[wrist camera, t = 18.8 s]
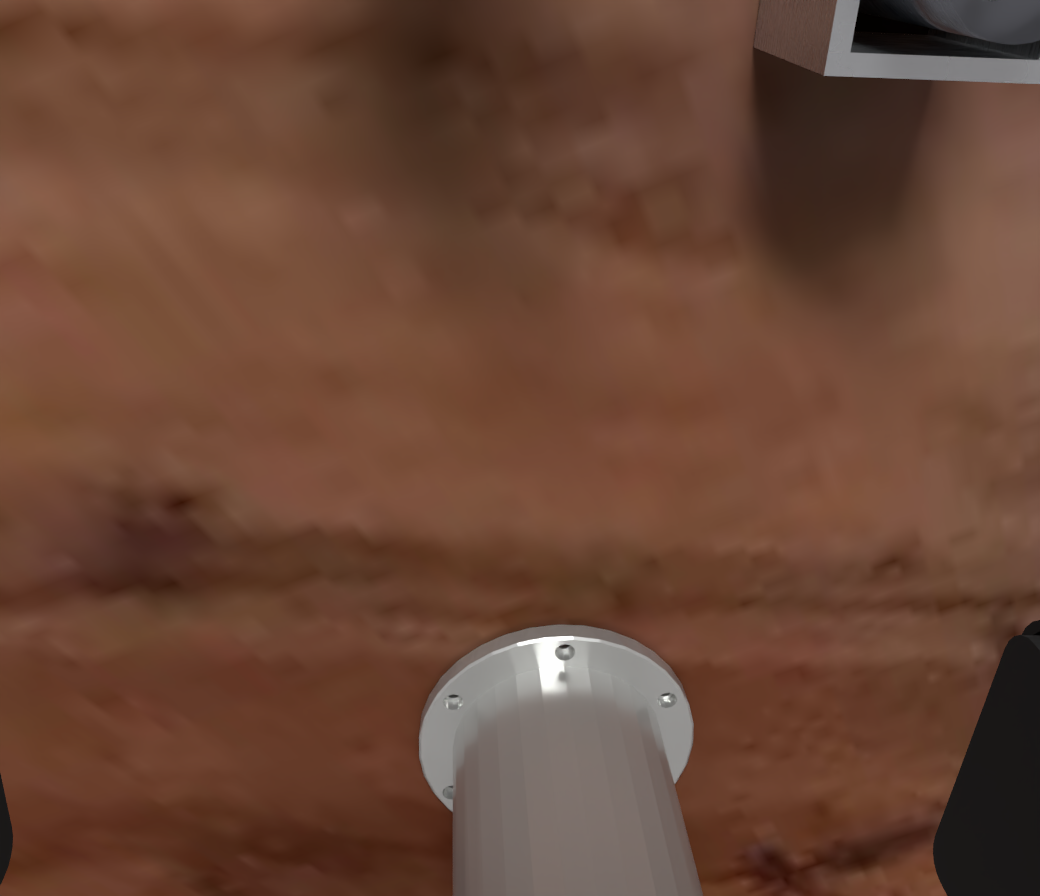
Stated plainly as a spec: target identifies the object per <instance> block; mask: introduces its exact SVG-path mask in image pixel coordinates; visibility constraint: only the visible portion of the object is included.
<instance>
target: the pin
mask: <svg viewBox="0 0 1040 896" xmlns="http://www.w3.org/2000/svg"><path fill="white" fill-rule="evenodd" d="M858 12H859V13H864V14H868V15H873V16H878V17H882V18H887V19H891V20H896V21H900V22H905V23H909V24H914V25H918V26H923V27H928V28H932V29H937V30H941V31H946V32H950V33H955V34H959V35H964V36H969V37H973V38H978V39H982V40H987V41H991V42H996V43H1001V44H1009V45H1016V44H1026V43H1032V42H1035V41H1039V40H1040V0H860V3H859V8H858Z"/></svg>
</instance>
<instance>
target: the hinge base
mask: <svg viewBox="0 0 1040 896" xmlns="http://www.w3.org/2000/svg"><path fill="white" fill-rule="evenodd" d="M859 3H860V0H760V4H759V11H758V18H757V25H756V32H755V39H754V46H753V47H754V48H757V49H759V50H762V51H764V52H767V53H769V54H772V55H774V56H776V57H779V58H781V59H784V60H786V61H789V62H791V63H794V64H796V65H799V66H801V67H804V68H806V69H808V70H811V71H813V72H816V73H818V74H821V75H823V76H843V77H869V78H896V79H922V80H948V81H974V82H1000V83H1027V84H1040V40H1039V41H1035V42H1032V43H1026V44H1016V45H1009V44H1001V43H996V42H991V41H987V40H982V39H978V38H973V37H969V36H964V35H959V34H955V33H950V32H946V31H941V30H937V29H932V28H929V32H928V35H927V34H903V33H879V32H855V31H854V30H855V24H856V19H857V13H858V8H859Z"/></svg>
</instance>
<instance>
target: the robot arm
mask: <svg viewBox="0 0 1040 896" xmlns="http://www.w3.org/2000/svg"><path fill="white" fill-rule="evenodd" d="M693 729H694V724H693V719H692V715H691V710H690V706H689V703H688V700H687V697H686V694H685V692H684V689H683V686H682V684H681V682H680V681H679V679H678V678H677V676H676V675H675V673H674V672H673V670H672V669H671V667H670V666H669V665H668V664H667V663H666V662H664V661H663V660H662V659H661V658H660V657H659V656H658V655H657V654H656V653H655V652H654V651H652V650H650V649H649V648H647V647H645V646H644V645H642V644H640V643H639V642H637V641H636V640H634V639H631V638H629V637H626V636H623V635H621V634H618V633H615V632H613V631H610V630H605V629H599V628H594V627H589V626H583V625H550V626H541V627H533V628H527V629H524V630H520V631H517V632H513V633H509V634H506V635H503V636H500V637H498V638H496V639H494V640H492V641H489V642H487V643H485V644H483V645H481V646H479V647H477V648H476V649H474V650H473V651H471V652H470V653H468V654H467V655H465V656H464V657H462V658H461V659H460V660H458V661H457V662H456V663H455V664H454V665H453V666H452V667H451V668H450V669H449V670H448V671H447V672H446V673H445V674H444V675H443V676H442V677H441V678H440V680H439V681H438V683H437V684H436V686H435V687H434V689H433V690H432V692H431V693H430V695H429V697H428V699H427V702H426V704H425V707H424V710H423V712H422V715H421V723H420V731H419V758H420V762H421V766H422V770H423V773H424V777H425V778H426V780H427V782H428V784H429V785H430V787H431V789H432V791H433V793H434V794H435V795H436V796H437V797H438V798H439V800H440V801H441V802H442V803H443V804H444V805H445V806H446V807H447V808H448V809H449V810H450V811H452V812H453V896H703V893H702V890H701V886H700V882H699V878H698V874H697V870H696V866H695V862H694V858H693V855H692V851H691V847H690V843H689V839H688V835H687V831H686V827H685V824H684V820H683V816H682V812H681V808H680V804H679V800H678V796H677V793H676V789H675V785H674V784H675V783H676V782H677V781H678V779H679V777H680V775H681V774H682V772H683V770H684V768H685V766H686V765H687V763H688V759H689V756H690V752H691V749H692V745H693ZM12 843H13V833H12V826H11V821H10V816H9V812H8V807H7V803H6V798H5V793H4V789H3V784H2V779H1V775H0V884H1V882H2V880H3V878H4V876H5V873H6V871H7V868H8V865H9V861H10V858H11V852H12ZM933 856H934V864H935V868H936V872H937V875H938V877H939V880H940V882H941V884H942V886H943V888H944V890H945V892H946V894H947V896H1040V620H1038V621H1034V622H1032V623H1031V624H1030V625H1028V626H1027V627H1026V628H1025V630H1024V632H1023V633H1022V635H1018V636H1014V637H1013V638H1012V639H1011V640H1010V641H1009V642H1008V644H1007V646H1006V647H1005V650H1004V653H1003V655H1002V658H1001V661H1000V663H999V666H998V669H997V671H996V674H995V677H994V679H993V682H992V685H991V687H990V690H989V693H988V696H987V698H986V701H985V704H984V706H983V709H982V712H981V714H980V717H979V720H978V722H977V725H976V728H975V731H974V733H973V736H972V739H971V741H970V744H969V747H968V749H967V752H966V755H965V757H964V760H963V763H962V766H961V768H960V771H959V774H958V776H957V779H956V782H955V784H954V787H953V790H952V792H951V795H950V798H949V800H948V803H947V806H946V809H945V811H944V814H943V817H942V819H941V822H940V825H939V827H938V830H937V833H936V835H935V839H934V844H933Z"/></svg>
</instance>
